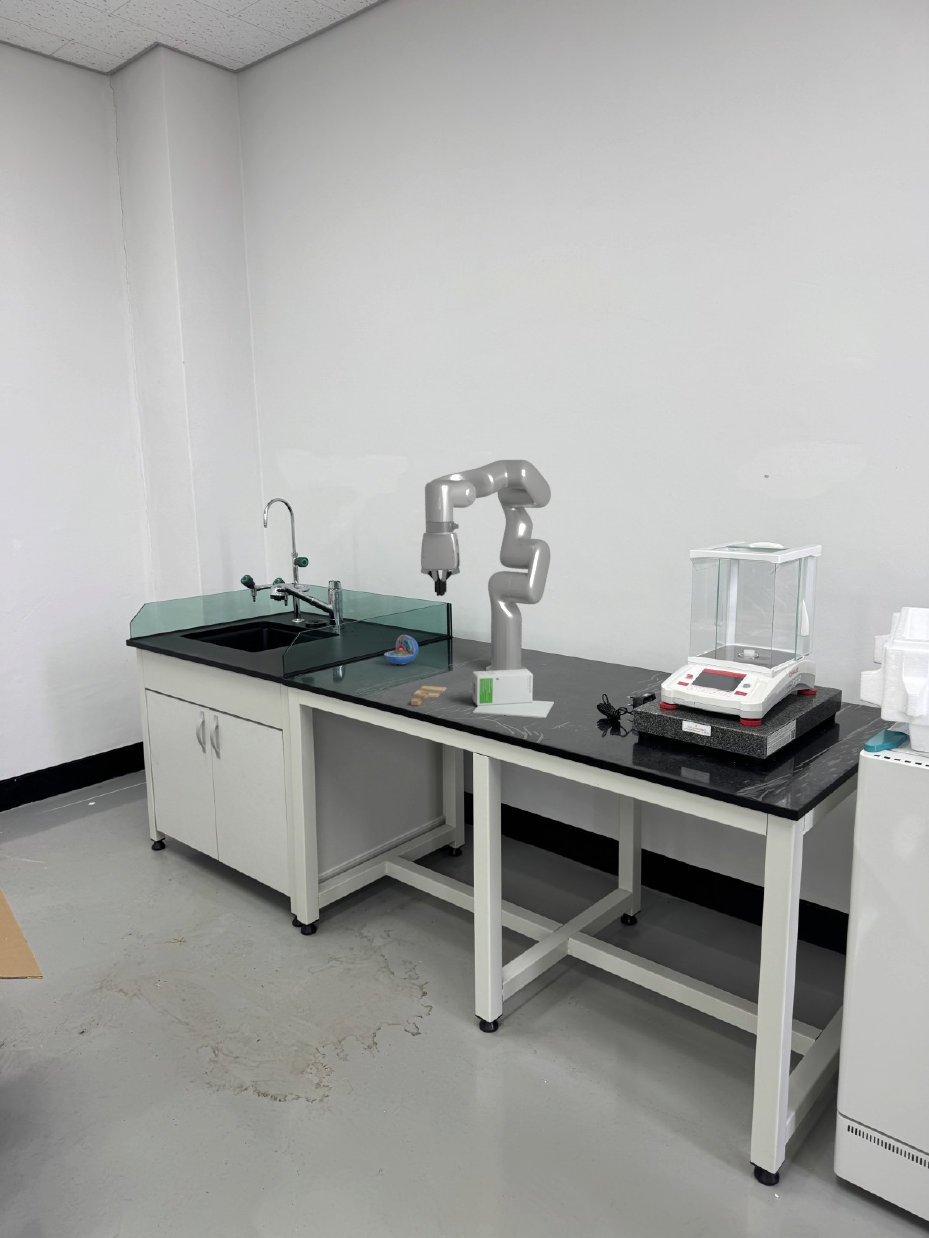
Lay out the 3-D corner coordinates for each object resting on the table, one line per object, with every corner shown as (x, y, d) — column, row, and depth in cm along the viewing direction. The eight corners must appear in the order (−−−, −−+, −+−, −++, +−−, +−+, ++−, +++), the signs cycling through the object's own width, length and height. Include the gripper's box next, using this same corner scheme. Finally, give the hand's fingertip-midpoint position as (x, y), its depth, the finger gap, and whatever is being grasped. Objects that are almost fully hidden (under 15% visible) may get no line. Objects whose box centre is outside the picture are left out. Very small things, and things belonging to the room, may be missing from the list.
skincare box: (476, 676, 230) (533, 672, 233) (471, 670, 237) (527, 667, 239) (477, 707, 232) (533, 703, 235) (472, 700, 238) (527, 696, 241)
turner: (423, 687, 254) (423, 683, 253) (446, 689, 252) (446, 684, 252) (402, 704, 234) (401, 700, 234) (426, 706, 233) (426, 701, 233)
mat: (485, 698, 241) (485, 697, 240) (553, 703, 236) (553, 701, 236) (472, 713, 226) (472, 711, 226) (545, 718, 222) (545, 716, 222)
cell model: (377, 664, 283) (377, 635, 281) (406, 659, 291) (406, 631, 289) (396, 669, 276) (396, 640, 274) (425, 664, 284) (425, 635, 282)
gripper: (469, 527, 237) (470, 593, 240) (416, 526, 240) (417, 592, 243) (463, 529, 229) (464, 598, 233) (409, 529, 233) (410, 596, 236)
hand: (440, 595), depth 238 cm, fingers closed
